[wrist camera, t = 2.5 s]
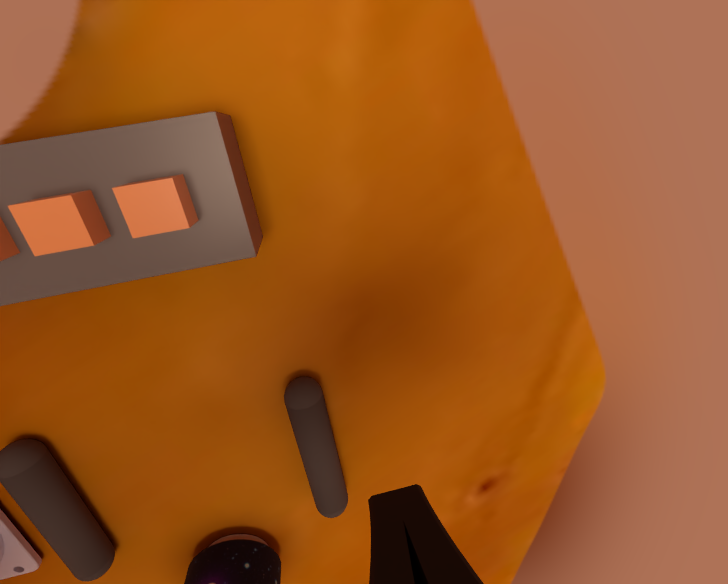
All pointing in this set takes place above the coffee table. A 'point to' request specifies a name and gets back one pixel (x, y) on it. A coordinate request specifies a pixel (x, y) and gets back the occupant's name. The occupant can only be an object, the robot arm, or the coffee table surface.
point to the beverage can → (235, 562)
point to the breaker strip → (122, 205)
